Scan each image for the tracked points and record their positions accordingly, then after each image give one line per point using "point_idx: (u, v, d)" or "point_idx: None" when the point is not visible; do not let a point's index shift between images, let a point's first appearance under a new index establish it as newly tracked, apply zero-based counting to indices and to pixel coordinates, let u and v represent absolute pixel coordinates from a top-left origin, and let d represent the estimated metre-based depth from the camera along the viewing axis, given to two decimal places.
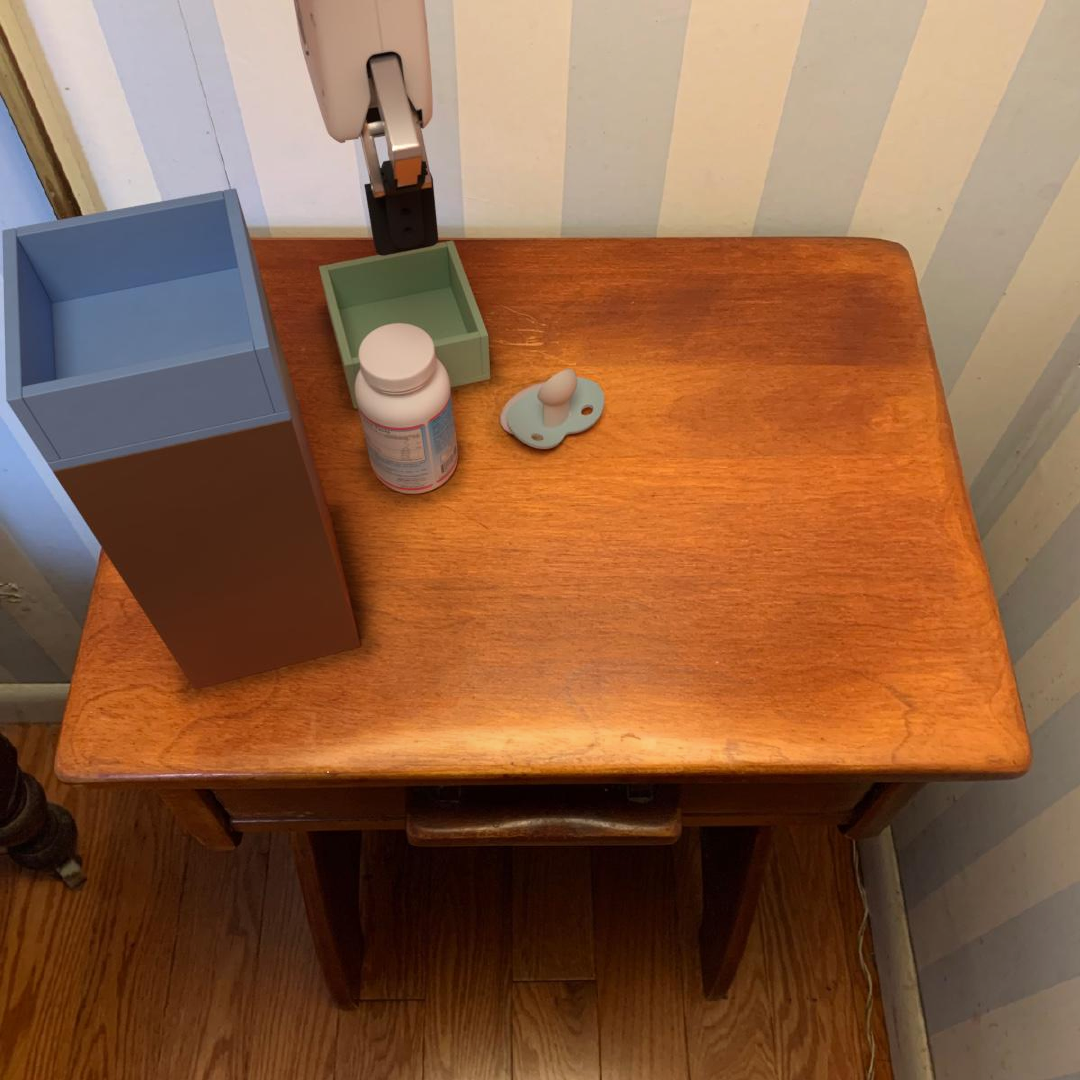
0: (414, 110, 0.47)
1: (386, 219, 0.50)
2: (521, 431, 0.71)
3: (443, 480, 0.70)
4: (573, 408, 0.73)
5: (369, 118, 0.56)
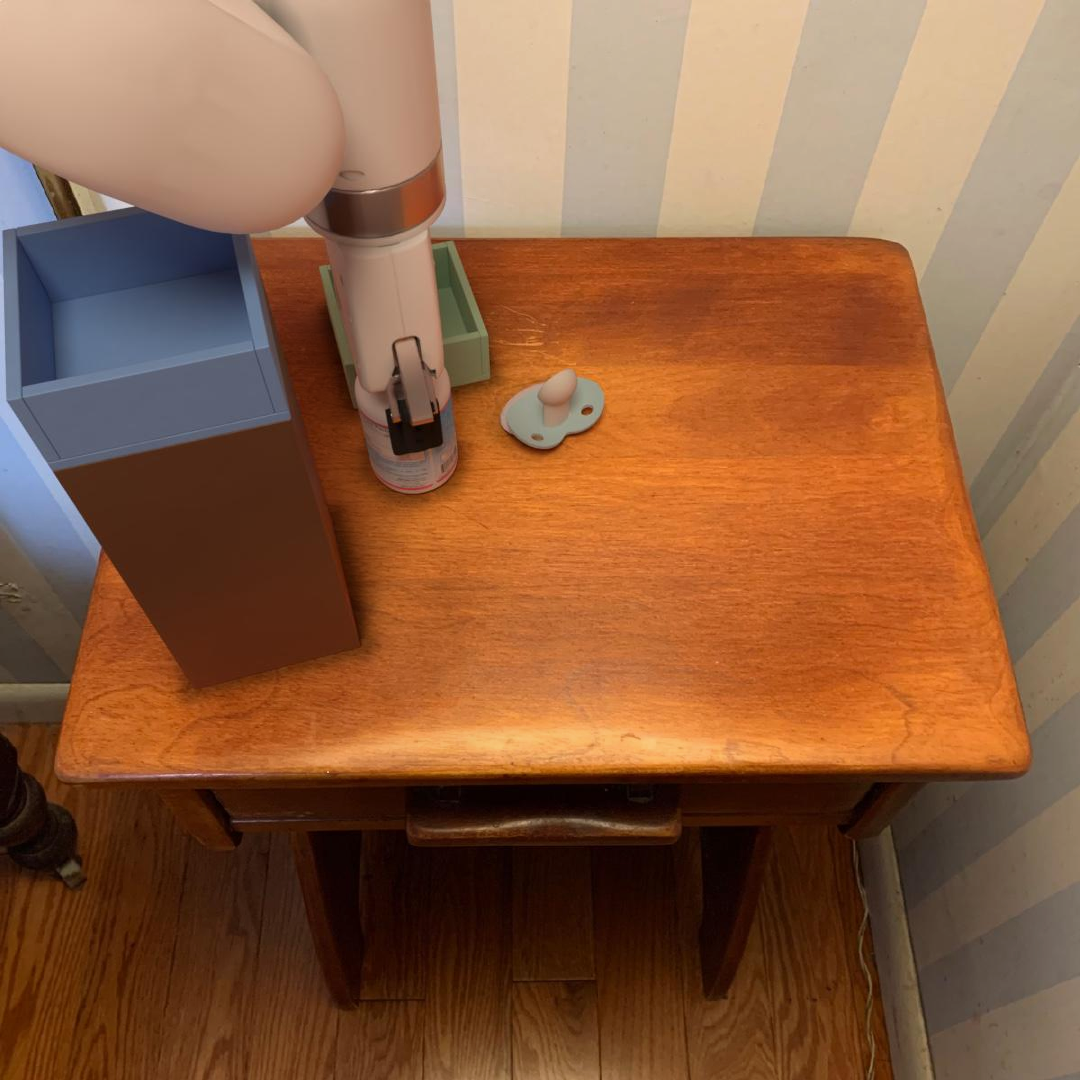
0: (427, 365, 0.59)
1: (402, 432, 0.63)
2: (521, 431, 0.71)
3: (443, 479, 0.70)
4: (573, 409, 0.73)
5: None
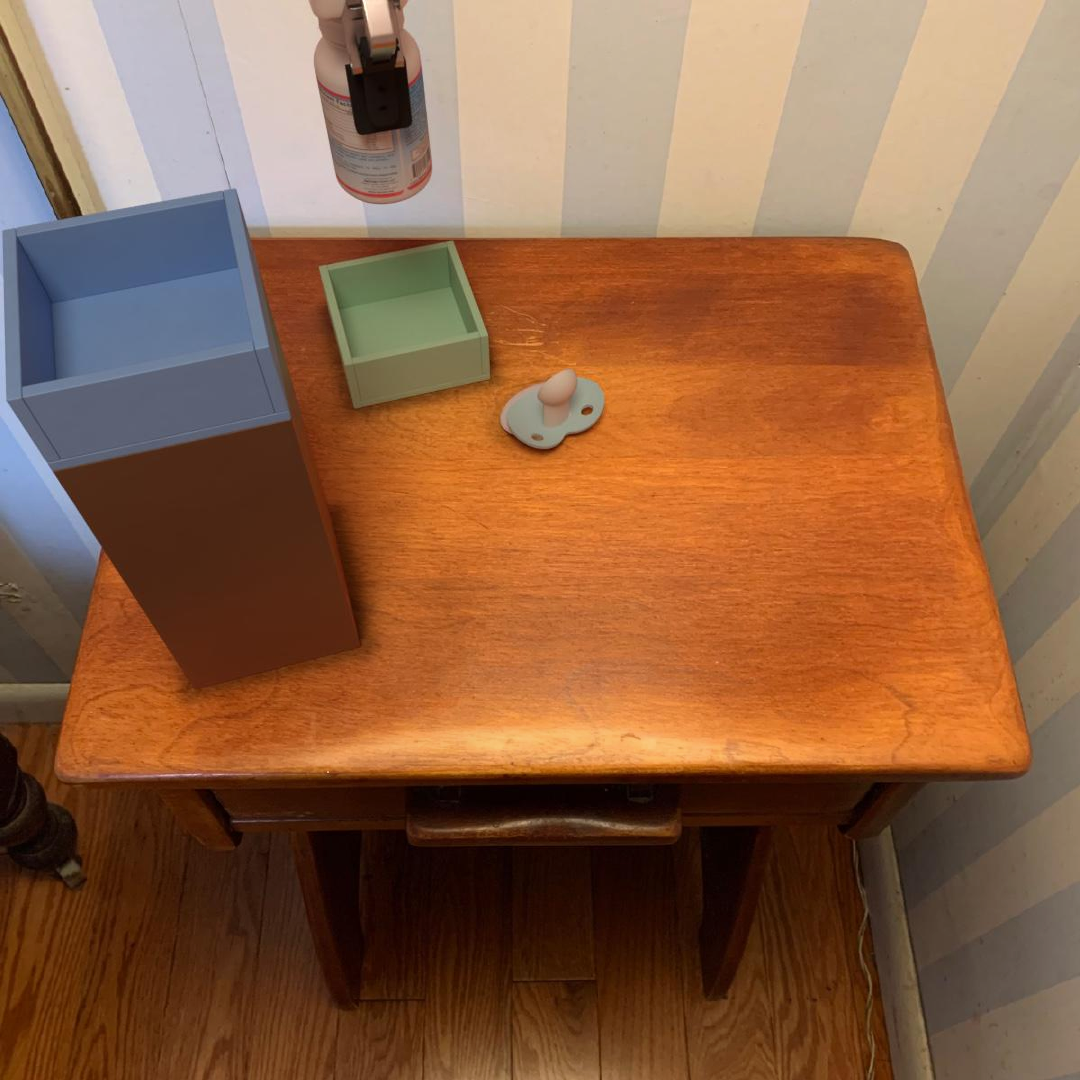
0: None
1: (365, 99, 0.56)
2: (521, 431, 0.71)
3: (415, 188, 0.63)
4: (573, 409, 0.73)
5: None
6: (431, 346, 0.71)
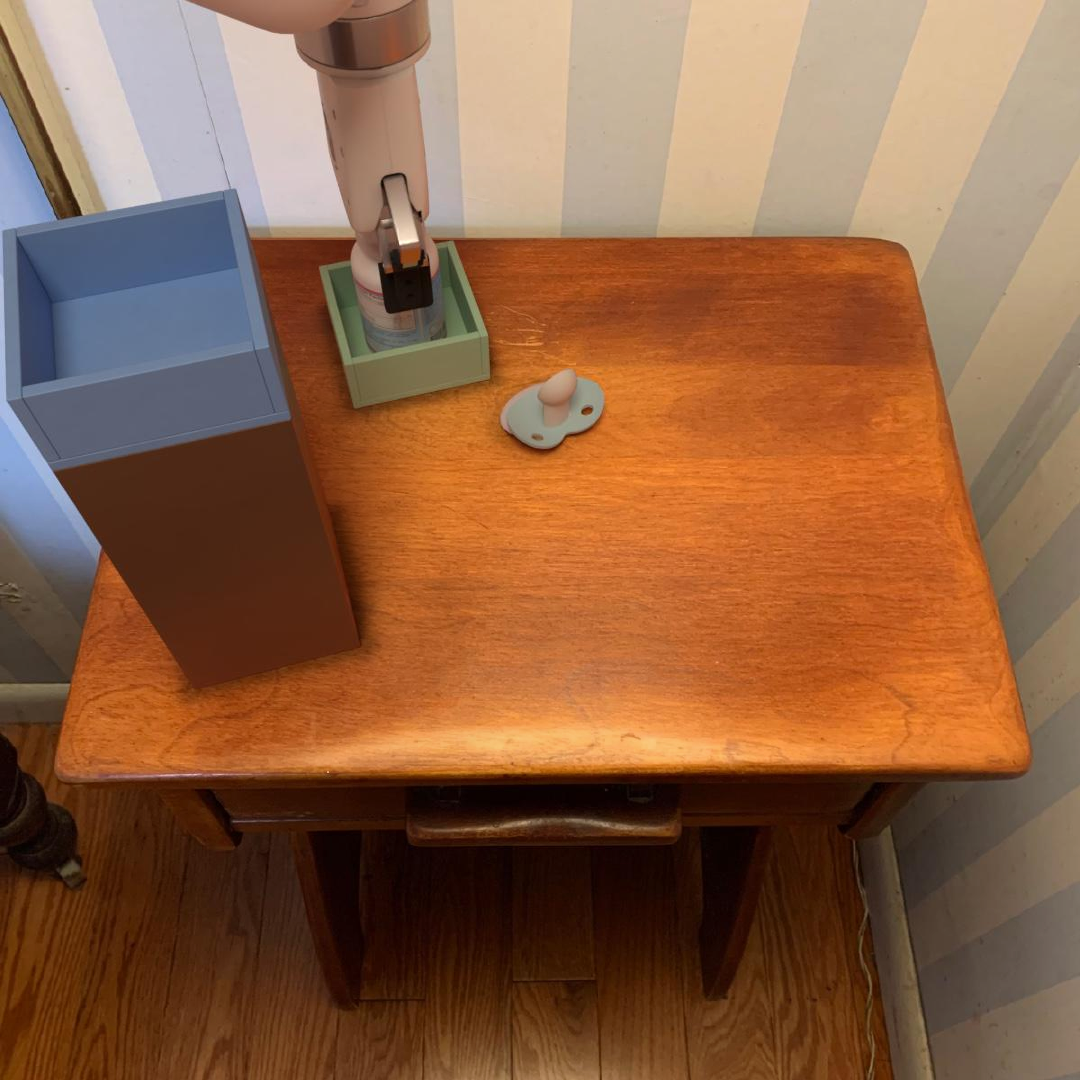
0: (415, 210, 0.62)
1: (394, 287, 0.66)
2: (521, 431, 0.71)
3: None
4: (573, 408, 0.73)
5: None
6: (431, 346, 0.71)
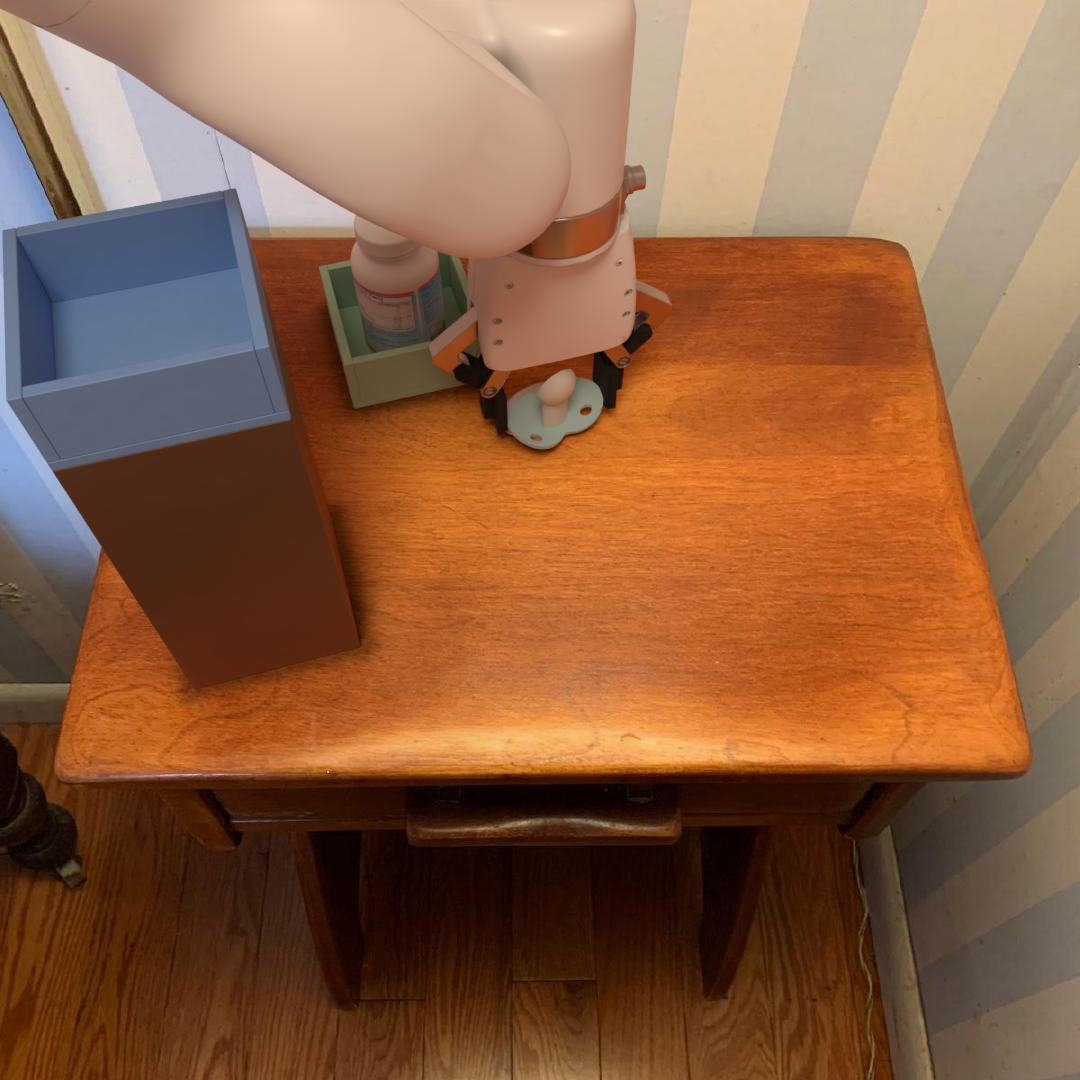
0: None
1: None
2: (520, 431, 0.71)
3: None
4: (572, 409, 0.73)
5: (599, 386, 0.72)
6: None
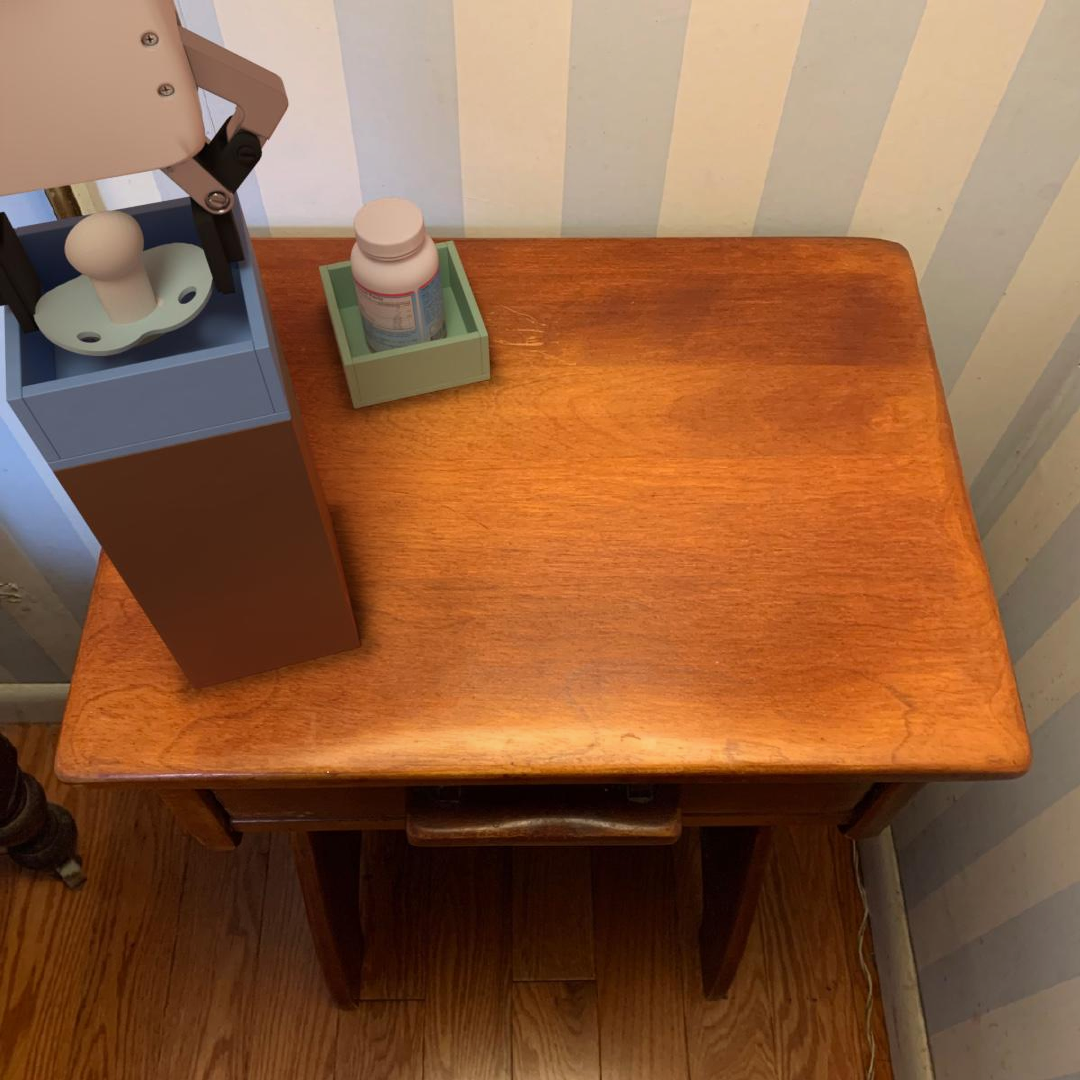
0: None
1: None
2: (59, 326, 0.42)
3: None
4: (168, 294, 0.44)
5: None
6: (431, 346, 0.71)
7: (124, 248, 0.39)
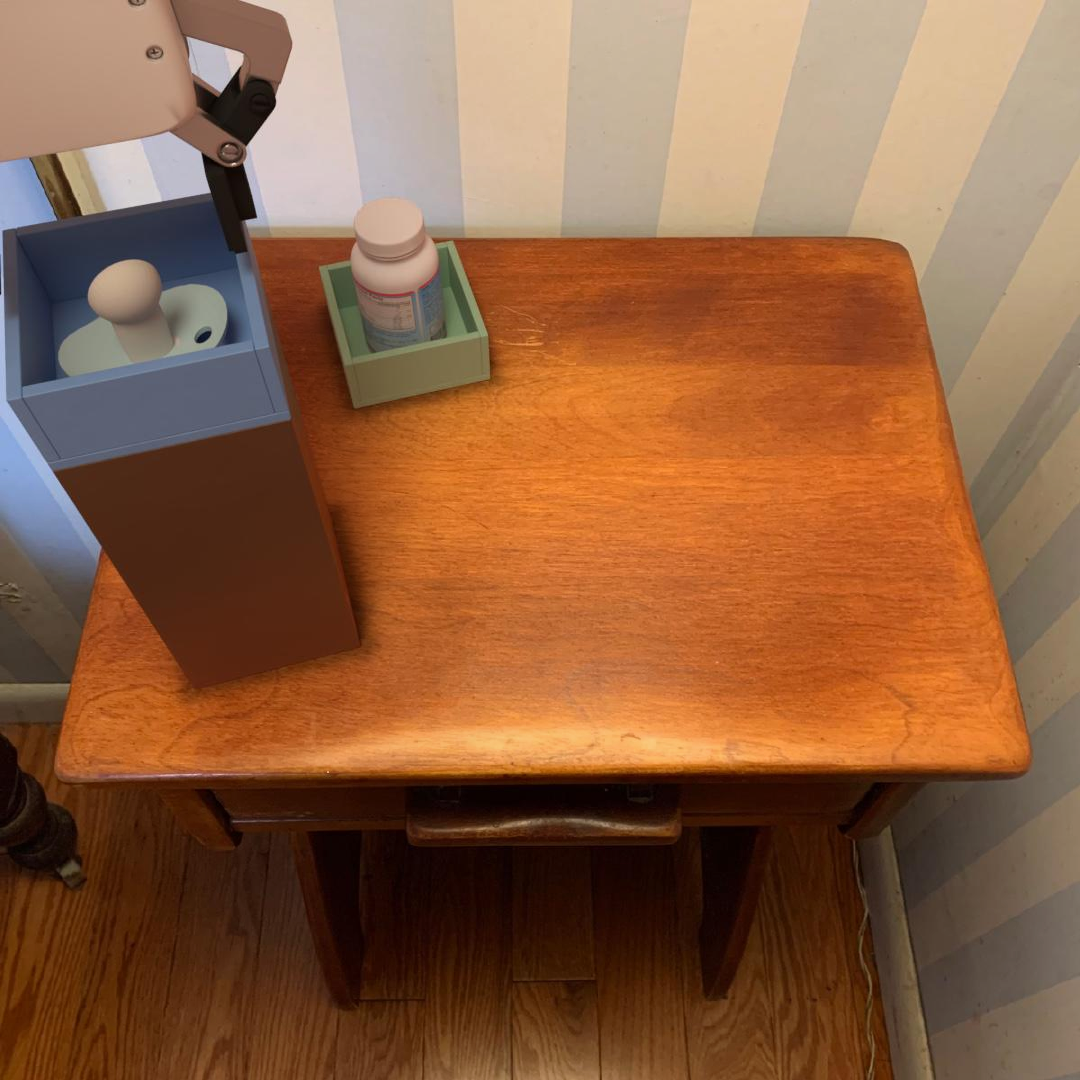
0: None
1: None
2: (82, 368, 0.44)
3: None
4: (184, 334, 0.46)
5: None
6: (431, 346, 0.71)
7: (144, 295, 0.41)
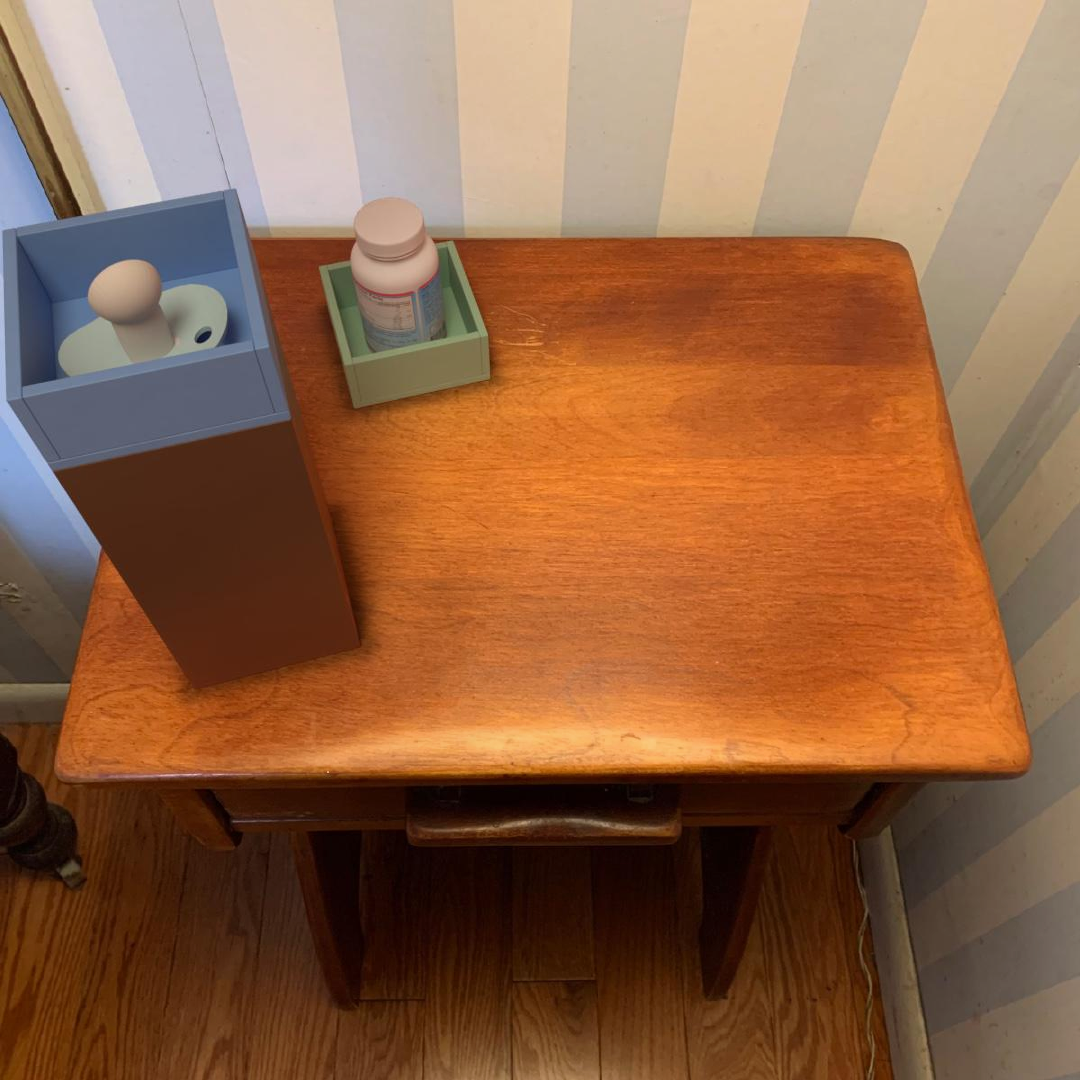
0: None
1: None
2: (82, 368, 0.44)
3: None
4: (184, 334, 0.46)
5: None
6: (431, 346, 0.71)
7: (144, 295, 0.41)
